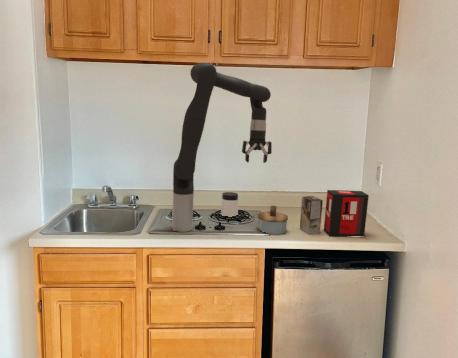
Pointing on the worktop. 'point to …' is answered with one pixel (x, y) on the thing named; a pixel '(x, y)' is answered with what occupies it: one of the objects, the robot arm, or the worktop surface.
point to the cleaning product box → (345, 213)
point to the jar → (229, 204)
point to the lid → (273, 216)
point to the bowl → (272, 227)
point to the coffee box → (311, 214)
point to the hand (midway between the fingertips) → (256, 162)
